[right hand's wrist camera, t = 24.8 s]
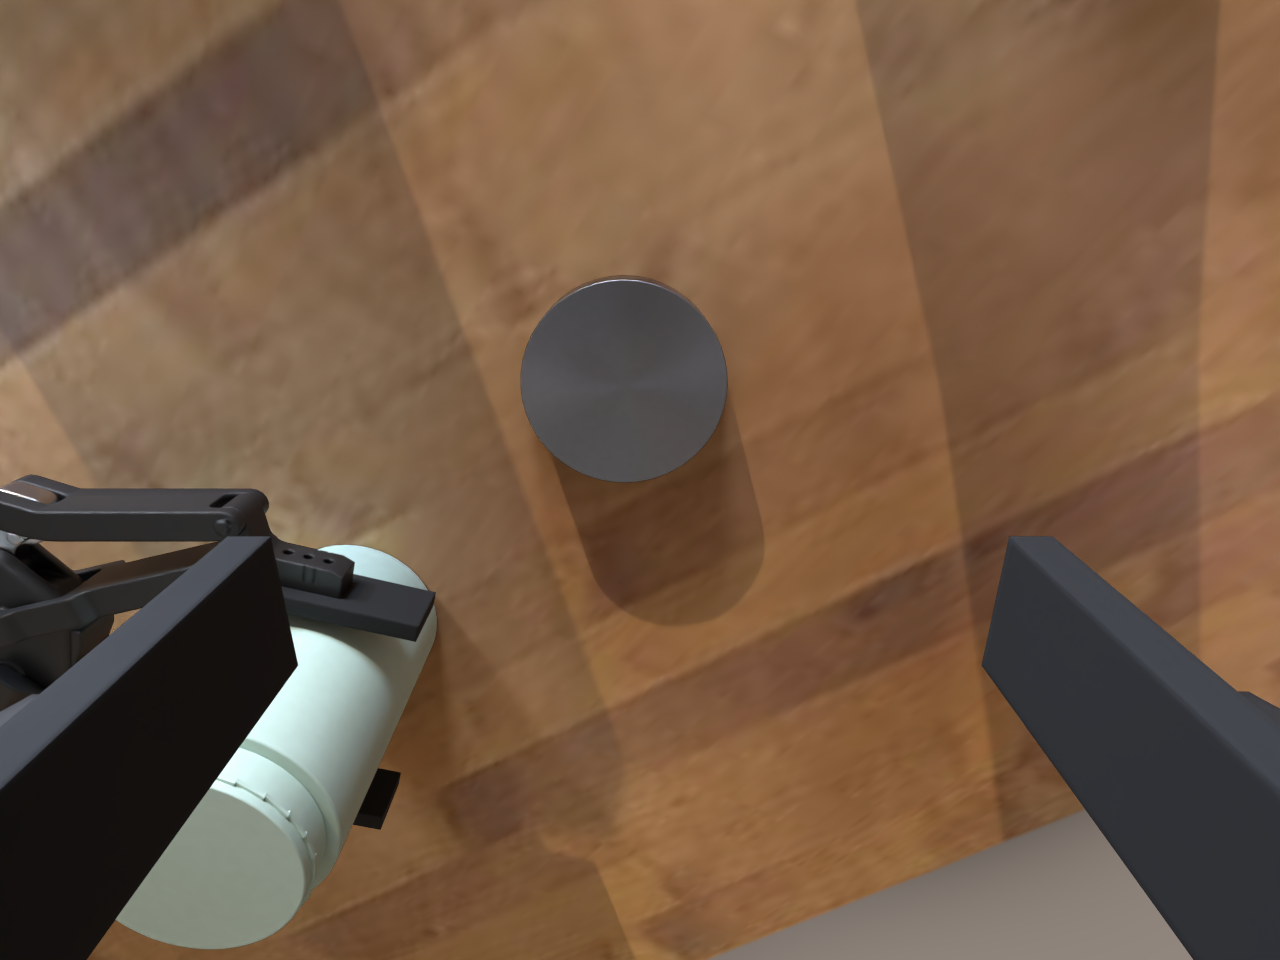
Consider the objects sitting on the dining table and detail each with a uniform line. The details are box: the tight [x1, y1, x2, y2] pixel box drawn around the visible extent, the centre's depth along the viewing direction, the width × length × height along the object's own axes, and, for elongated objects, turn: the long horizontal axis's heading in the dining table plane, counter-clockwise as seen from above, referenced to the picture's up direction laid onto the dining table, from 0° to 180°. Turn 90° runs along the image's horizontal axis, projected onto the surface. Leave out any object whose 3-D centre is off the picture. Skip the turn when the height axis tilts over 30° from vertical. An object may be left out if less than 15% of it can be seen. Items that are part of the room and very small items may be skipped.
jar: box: [115, 545, 437, 949], centre depth 30 cm, size 8×8×15 cm
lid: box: [521, 275, 727, 483], centre depth 32 cm, size 9×9×2 cm
